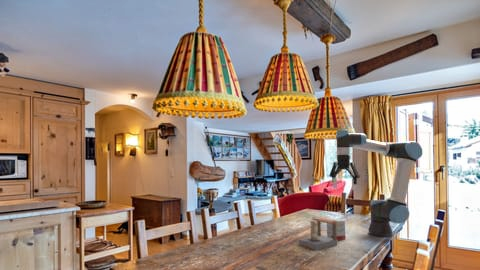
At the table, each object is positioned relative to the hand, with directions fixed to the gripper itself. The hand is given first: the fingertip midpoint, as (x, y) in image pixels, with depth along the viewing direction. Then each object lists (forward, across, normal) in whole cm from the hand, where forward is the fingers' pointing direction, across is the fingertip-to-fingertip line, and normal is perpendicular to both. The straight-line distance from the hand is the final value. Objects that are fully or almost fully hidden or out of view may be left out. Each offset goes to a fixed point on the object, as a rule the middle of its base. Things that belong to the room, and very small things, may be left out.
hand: (344, 189), depth 188 cm
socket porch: (+33, -8, -16) cm, 37 cm away
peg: (+33, -8, -19) cm, 39 cm away
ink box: (+33, -11, +5) cm, 35 cm away
